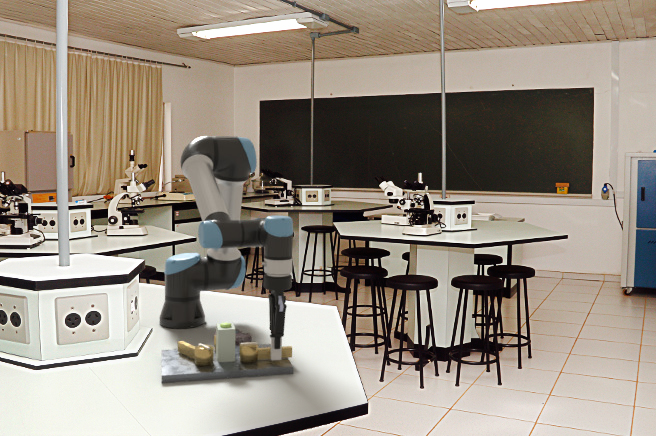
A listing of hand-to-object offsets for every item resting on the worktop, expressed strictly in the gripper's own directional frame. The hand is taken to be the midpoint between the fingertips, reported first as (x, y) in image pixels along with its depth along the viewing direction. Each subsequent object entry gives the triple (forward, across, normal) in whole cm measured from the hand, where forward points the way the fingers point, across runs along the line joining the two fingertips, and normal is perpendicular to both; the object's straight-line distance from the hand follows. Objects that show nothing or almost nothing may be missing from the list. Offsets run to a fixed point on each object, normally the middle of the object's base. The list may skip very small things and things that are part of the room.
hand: (275, 359), depth 165 cm
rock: (+4, -24, -10) cm, 26 cm away
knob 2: (+1, -3, -2) cm, 4 cm away
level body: (+1, -6, -13) cm, 14 cm away
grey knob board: (+3, -6, -13) cm, 15 cm away
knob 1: (+1, -7, -21) cm, 23 cm away
